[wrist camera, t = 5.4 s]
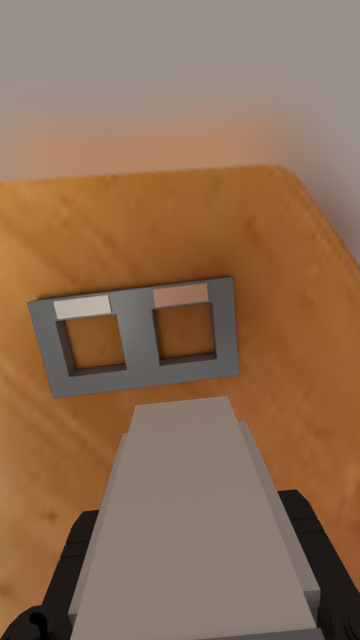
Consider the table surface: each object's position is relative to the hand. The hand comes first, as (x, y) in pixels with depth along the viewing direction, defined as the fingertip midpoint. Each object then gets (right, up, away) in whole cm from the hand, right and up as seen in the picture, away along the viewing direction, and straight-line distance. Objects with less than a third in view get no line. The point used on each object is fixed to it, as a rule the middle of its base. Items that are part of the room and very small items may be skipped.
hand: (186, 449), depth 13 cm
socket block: (-5, +5, +17) cm, 18 cm away
